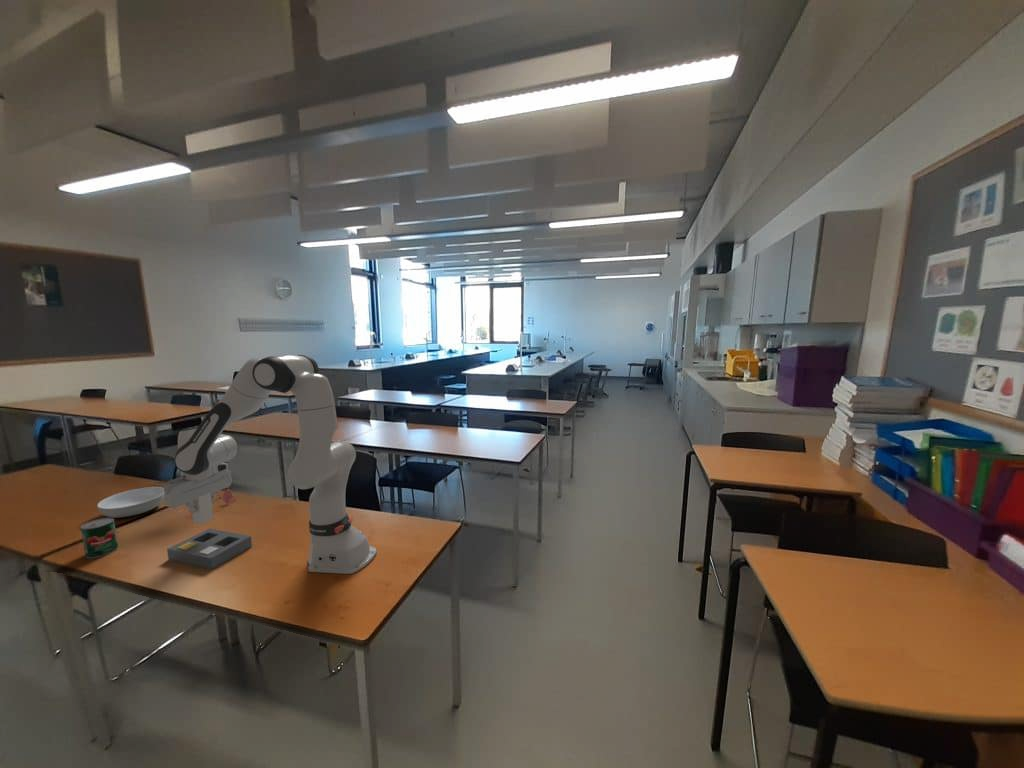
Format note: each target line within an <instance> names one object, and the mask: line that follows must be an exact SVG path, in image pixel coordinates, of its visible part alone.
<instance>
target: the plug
mask: <svg viewBox="0 0 1024 768" xmlns="http://www.w3.org/2000/svg"><path fill="white" fill-rule="evenodd" d="M192 505H193V506H197V509H198V511H196V512H194V513H191V516H192V522H193V523H194V524H199V525H202V524H205V523H208V522H209V521H211V520H213V519H214V511H213V505H212V502H211V493H207V494H205V495H202V496H200V497H198V499H196V500H194V501H193V504H192ZM193 523H192V524H193Z"/></svg>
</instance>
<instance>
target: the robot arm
mask: <svg viewBox="0 0 1024 768" xmlns="http://www.w3.org/2000/svg"><path fill="white" fill-rule="evenodd" d="M319 369H320V368H319V365H318V363H317V362H316V359H314V358H312V357H310V356H308V355H304V354H280V355H273V356H271V355H270V356H266V357H263V358H260V357H254V358H249V360H247V361H246V362H245V363H244V364H243V365H242V367H241V368H240V369H239V370H238V372H237V373H236V375H235V376H234V378H233V380H232V382H231V383H230V385H229V387H228V389H226V391H225V393H224V394H223V396H222V397H221V398H220V399H219V400H218V401H217V402H216V403H215V405H213V407H212V408H211V409H210V410H208V412H207V414H206V415H205V417H204V418H203V419H202V420H201V422H200V424H199V425H196V426H192V427H187V428H184V429H182V430H179V433H178V436H177V451H175V455H174V464H175V467H176V468H177V469H178V470H179V471H180V475H181V476H179V477H177V478H174V479H170V480H168V481H167V483H166V484H164V486H163V488H164V492H165V494H164V500H163V501H164V503H163V504H164V506H166V507H167V508H171V509H176V508H178V507H181V506H184V505H185V506H186V507H187V508H188V510H189V513H191V514H192V513H194V512H196V511H198V509H197V506H193V505H192V504H193V501H194V500H196V499H198V497H200V496H202V495H205V494H207V493H211V502H212V506H213V505H214V504H215V502H214V500H215V498H216V496H217V493H216V491H217V492H219V491H221V490H224V489H226V488H227V489H228V487H229V488H230V487H231V485H232V483H233V481H232V474H231V471H230V469H229V463H226V462H229V461H231V460H232V459H234V458H235V457H237V455H238V453H239V444H238V441H237V440H236V438H234V437H233V435H230V434H222V433H223V431H225V429H227V428H228V427H229V426H231V425H233V424H234V423H236V422H238V421H239V420H242V419H243V418H245V417H248V416H250V415H252V414H255V413H256V412H258V411H259V410H260V409H261V408H262V407H263V406H264V405H265V403H266V401H267V400H268V397H269V396H270V394H271V392H272V391H274V392H279V393H281V394H282V393H283V394H286V393H287V394H288V392H291V393H292V394H293V395H294V397H295V400H296V408H297V414H298V415H297V416H298V423H299V442H298V446H297V451H296V455H295V457H294V459H293V461H292V462H291V463H290V465H289V467H288V470H287V471H288V472H287V476H288V479H289V481H290V483H291V484H292V485H293V486H294V487H295V488H296V489H300V490H308V489H312V488H313V490H312V492H311V493H310V495H309V499H308V506H309V508H308V509H309V510H308V511H309V521H308V529H309V533H310V543H309V544H310V545H309V554H308V558H307V563H308V567H307V568H308V569H307V571H308V572H309V573H326V574H345V575H350V574H351V575H352V574H354V573H356V572H358V571H361V569H363V568H364V567H366V566H367V565H368V564H369V563H371V561H372V560H373V559H374V558H375V557H376V555H377V552H378V551H377V548H376V547H375V546H371V545H370V543H369V540H368V537H367V536H366V535H365V534H364V533H363V531H361V530H359V529H357V528H356V527H355V526H353V525H352V522H353V521H354V517H351V518H350V517H349V514H348V513H347V511H346V509H347V506H346V505H347V504H346V491H347V490H346V488H347V484H348V480H349V474H350V471H351V469H352V466H353V464H354V463H355V461H356V457H357V452H356V449H355V446H353V444H351V443H350V442H348V441H347V440H346V441H345V440H340V441H333V438H334V435H335V433H336V431H337V429H338V418H337V410H336V404H335V397H334V393H333V390H332V386H331V383H330V382H329V379H328V377H327V376H326V375H323V374H322V373H321V374H320V373H319V372H320V371H319Z"/></svg>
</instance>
